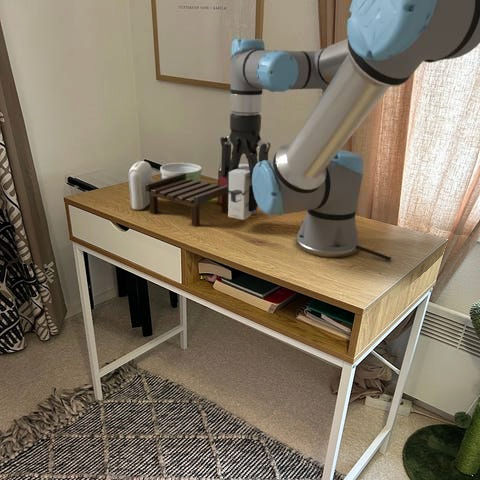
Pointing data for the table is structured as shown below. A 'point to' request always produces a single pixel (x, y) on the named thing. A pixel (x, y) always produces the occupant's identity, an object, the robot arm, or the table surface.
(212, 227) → the table surface
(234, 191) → the ink box
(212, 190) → the rack
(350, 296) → the table surface
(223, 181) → the puzzle cube
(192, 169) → the ramekin
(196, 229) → the table surface
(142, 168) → the photo printer
